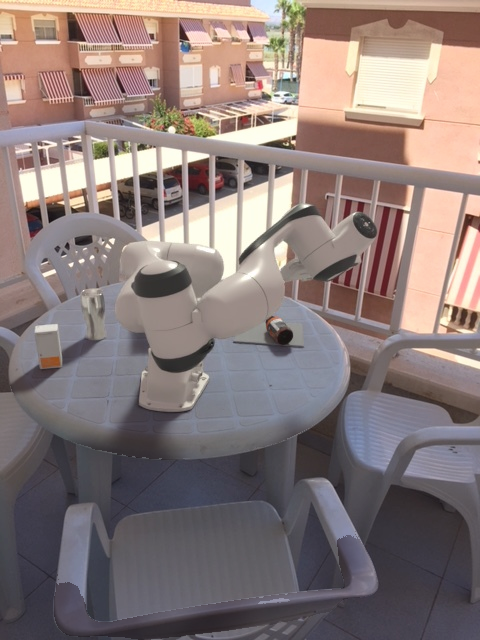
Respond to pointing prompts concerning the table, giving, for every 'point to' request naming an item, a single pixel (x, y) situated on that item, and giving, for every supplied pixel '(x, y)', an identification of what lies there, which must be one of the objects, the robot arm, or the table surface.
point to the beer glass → (94, 313)
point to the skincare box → (48, 346)
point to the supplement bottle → (279, 330)
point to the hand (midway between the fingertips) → (304, 278)
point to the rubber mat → (263, 337)
